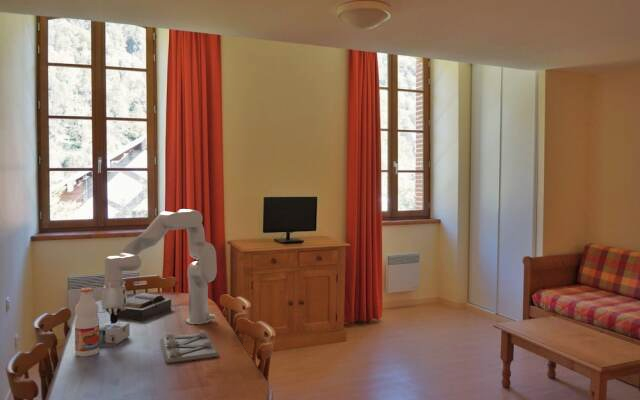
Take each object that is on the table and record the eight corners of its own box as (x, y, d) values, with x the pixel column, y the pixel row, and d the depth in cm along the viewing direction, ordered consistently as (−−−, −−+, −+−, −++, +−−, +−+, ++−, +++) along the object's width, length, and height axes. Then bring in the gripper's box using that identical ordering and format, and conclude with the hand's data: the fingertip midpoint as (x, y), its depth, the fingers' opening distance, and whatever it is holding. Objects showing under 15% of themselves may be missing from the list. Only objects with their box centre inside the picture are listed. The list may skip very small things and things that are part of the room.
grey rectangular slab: (219, 359, 204) (219, 342, 203) (166, 366, 196) (165, 348, 195) (207, 336, 231) (207, 322, 231) (160, 342, 223) (160, 327, 223)
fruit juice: (86, 348, 213) (86, 285, 212) (104, 350, 210) (103, 287, 209) (70, 355, 204) (68, 290, 203) (88, 358, 201) (87, 291, 200)
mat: (129, 335, 230) (129, 334, 230) (112, 347, 214) (112, 346, 214) (100, 334, 231) (100, 333, 231) (82, 346, 215) (82, 345, 215)
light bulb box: (117, 329, 217) (95, 327, 218) (117, 344, 217) (95, 342, 219) (129, 322, 228) (108, 320, 229) (129, 336, 228) (108, 334, 229)
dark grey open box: (177, 311, 272) (177, 294, 272) (136, 324, 249) (136, 305, 249) (149, 305, 284) (149, 289, 284) (108, 316, 261) (108, 298, 261)
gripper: (133, 281, 224) (133, 320, 225) (102, 281, 225) (102, 319, 226) (126, 285, 217) (126, 325, 218) (93, 284, 218) (94, 324, 219)
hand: (114, 322), depth 222 cm, fingers closed
